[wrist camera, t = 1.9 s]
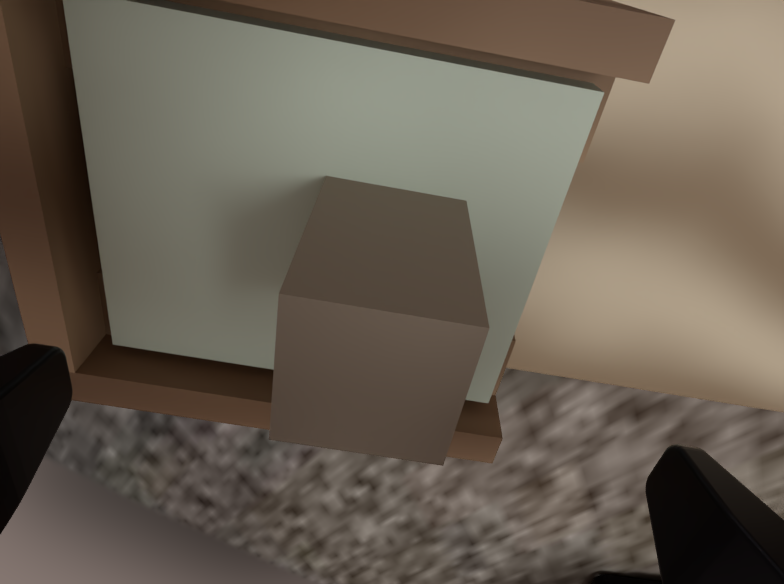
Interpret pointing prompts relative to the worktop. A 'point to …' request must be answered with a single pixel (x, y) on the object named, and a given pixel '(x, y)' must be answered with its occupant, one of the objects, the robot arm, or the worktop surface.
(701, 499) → the robot arm
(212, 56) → the lid
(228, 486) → the worktop surface
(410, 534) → the worktop surface
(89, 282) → the box
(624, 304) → the mat
